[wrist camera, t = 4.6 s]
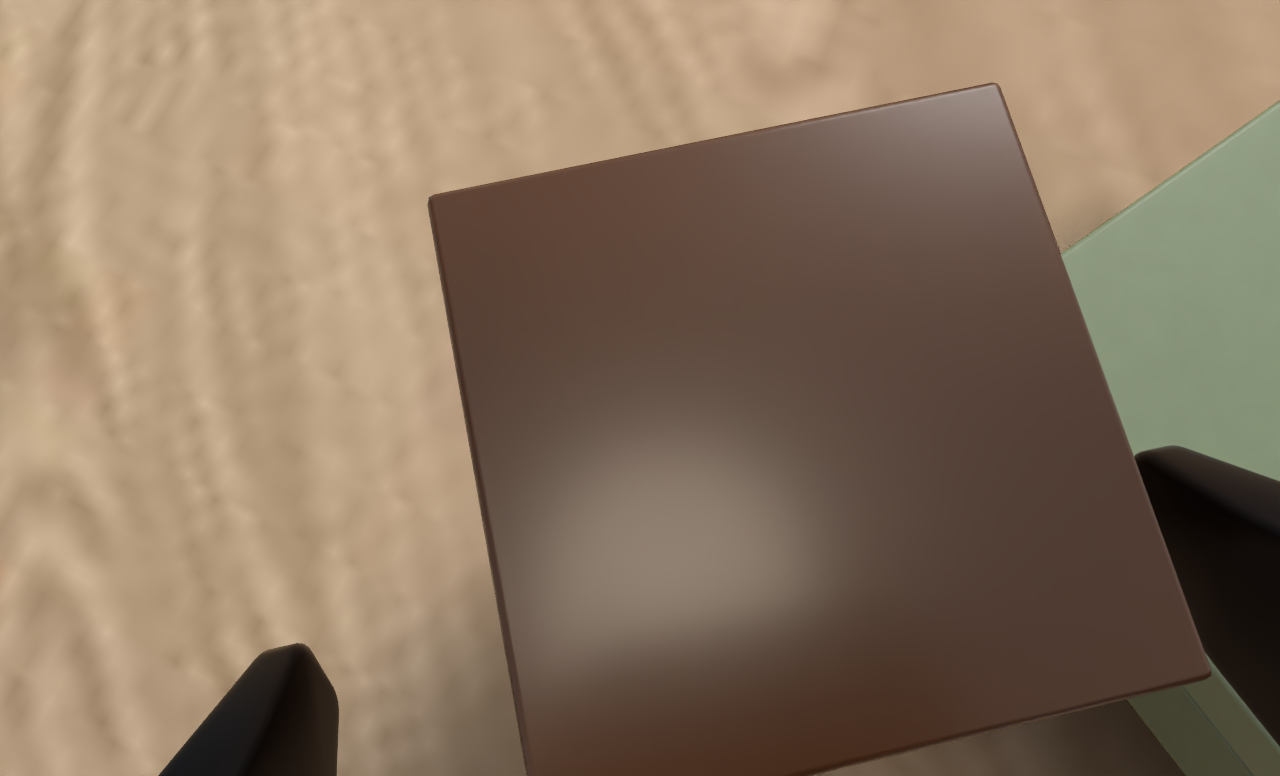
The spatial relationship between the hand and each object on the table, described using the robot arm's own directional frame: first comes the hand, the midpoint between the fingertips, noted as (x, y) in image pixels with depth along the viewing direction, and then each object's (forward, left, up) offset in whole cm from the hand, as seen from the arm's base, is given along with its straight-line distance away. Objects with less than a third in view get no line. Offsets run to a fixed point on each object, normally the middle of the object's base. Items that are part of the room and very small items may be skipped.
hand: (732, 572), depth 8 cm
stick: (0, +1, -8) cm, 9 cm away
